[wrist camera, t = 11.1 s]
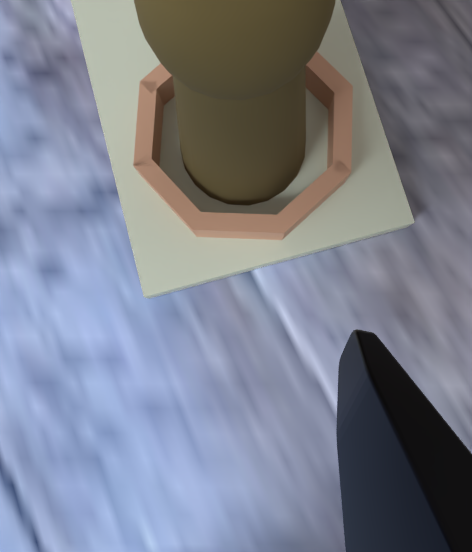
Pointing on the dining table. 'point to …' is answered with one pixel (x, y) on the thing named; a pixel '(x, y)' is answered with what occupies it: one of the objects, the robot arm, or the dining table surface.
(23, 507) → the dining table surface
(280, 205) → the pin board
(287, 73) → the cork
